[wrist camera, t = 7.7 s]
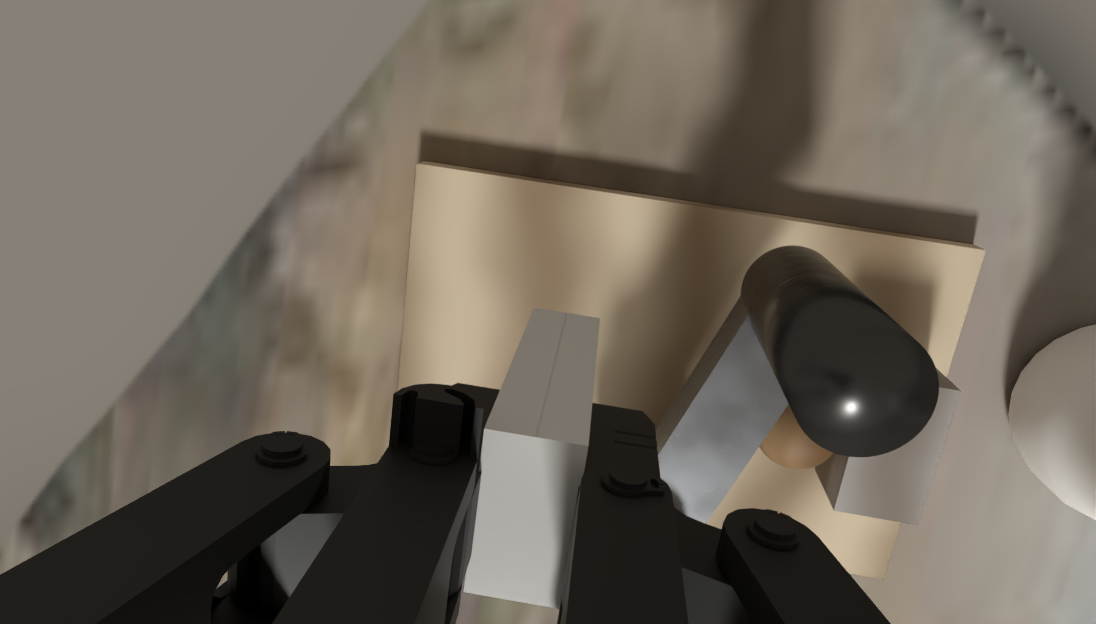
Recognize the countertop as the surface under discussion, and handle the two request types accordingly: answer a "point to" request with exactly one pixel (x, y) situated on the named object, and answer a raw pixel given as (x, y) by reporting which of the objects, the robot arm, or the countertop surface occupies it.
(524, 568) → the robot arm
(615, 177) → the countertop surface
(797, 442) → the brown ball
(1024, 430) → the bottle
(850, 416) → the lever
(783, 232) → the board
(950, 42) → the countertop surface
